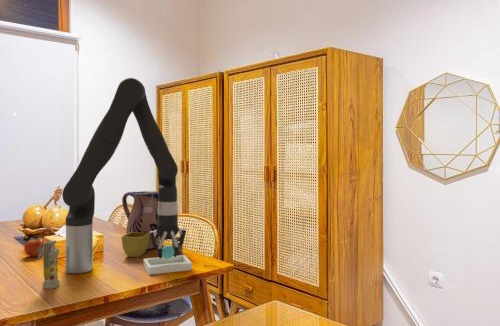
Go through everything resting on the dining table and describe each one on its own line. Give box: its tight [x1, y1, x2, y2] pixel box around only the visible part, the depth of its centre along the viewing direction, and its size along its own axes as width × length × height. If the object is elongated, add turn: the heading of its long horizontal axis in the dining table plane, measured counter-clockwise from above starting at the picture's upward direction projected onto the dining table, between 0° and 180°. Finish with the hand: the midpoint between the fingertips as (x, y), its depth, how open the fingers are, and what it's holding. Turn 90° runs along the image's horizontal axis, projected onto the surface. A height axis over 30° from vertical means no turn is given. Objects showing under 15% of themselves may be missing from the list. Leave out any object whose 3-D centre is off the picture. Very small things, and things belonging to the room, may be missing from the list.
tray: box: [143, 254, 193, 275], centre depth 160 cm, size 16×12×3 cm
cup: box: [171, 236, 185, 256], centre depth 176 cm, size 6×6×8 cm
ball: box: [161, 244, 174, 259], centre depth 160 cm, size 5×5×5 cm
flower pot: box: [121, 232, 149, 258], centre depth 176 cm, size 9×9×9 cm
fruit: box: [24, 237, 44, 258], centre depth 173 cm, size 7×7×8 cm
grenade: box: [36, 240, 60, 290], centre depth 137 cm, size 6×7×15 cm
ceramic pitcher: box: [121, 190, 160, 250], centre depth 190 cm, size 18×21×25 cm
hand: (167, 256), depth 160 cm, fingers closed on ball, 5 cm apart
